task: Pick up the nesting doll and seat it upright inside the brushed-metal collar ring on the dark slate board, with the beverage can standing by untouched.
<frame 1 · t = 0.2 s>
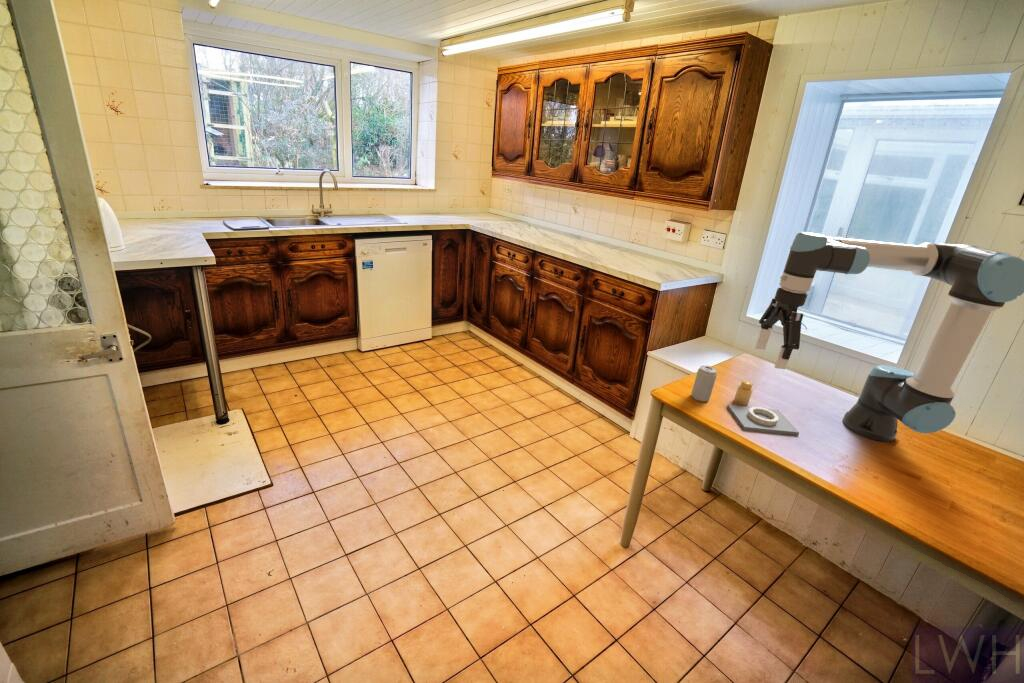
hand: (769, 358, 141), 28 cm above the table, fingers open, 13 cm apart
collar board: (761, 420, 162), on the table
beverage can: (699, 398, 172), on the table
nesting doll: (740, 402, 173), on the table
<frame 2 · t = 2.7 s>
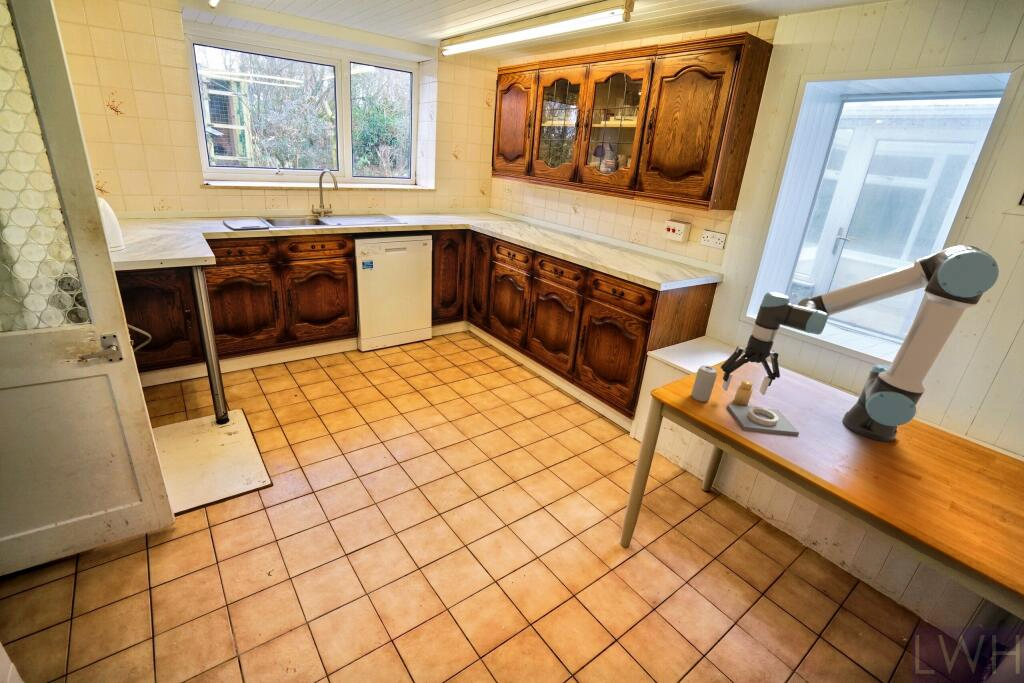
hand: (743, 391, 171), 5 cm above the table, fingers open, 13 cm apart
nothing on the table moved.
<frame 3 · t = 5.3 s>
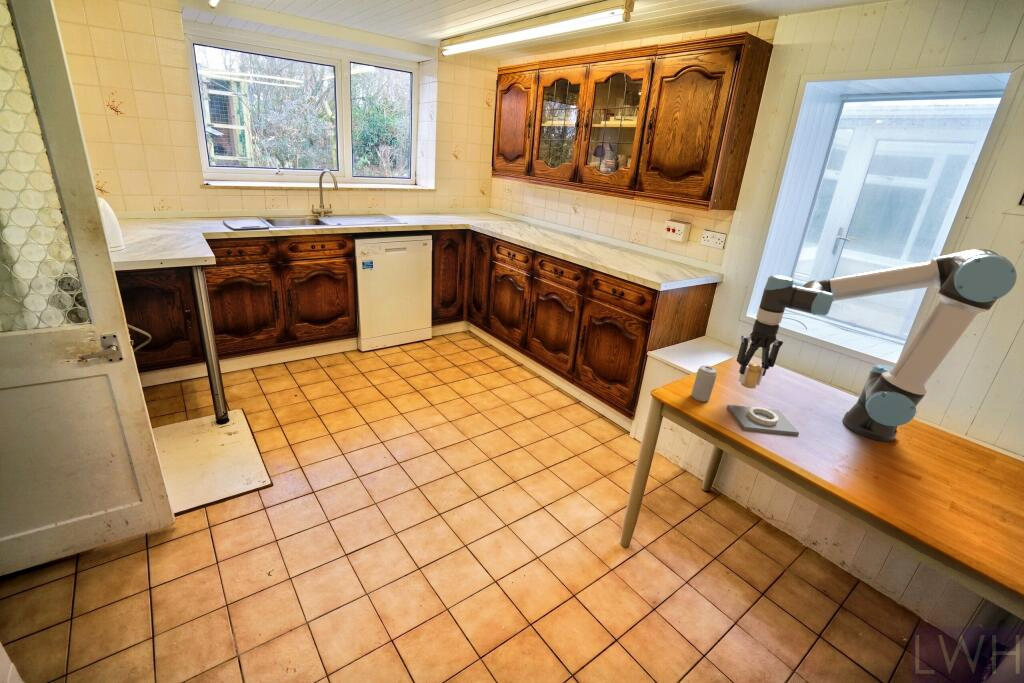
hand: (749, 382, 169), 8 cm above the table, fingers closed on nesting doll, 5 cm apart
nesting doll: (748, 385, 169), point 7 cm above the table, touching gripper
everything else where it was.
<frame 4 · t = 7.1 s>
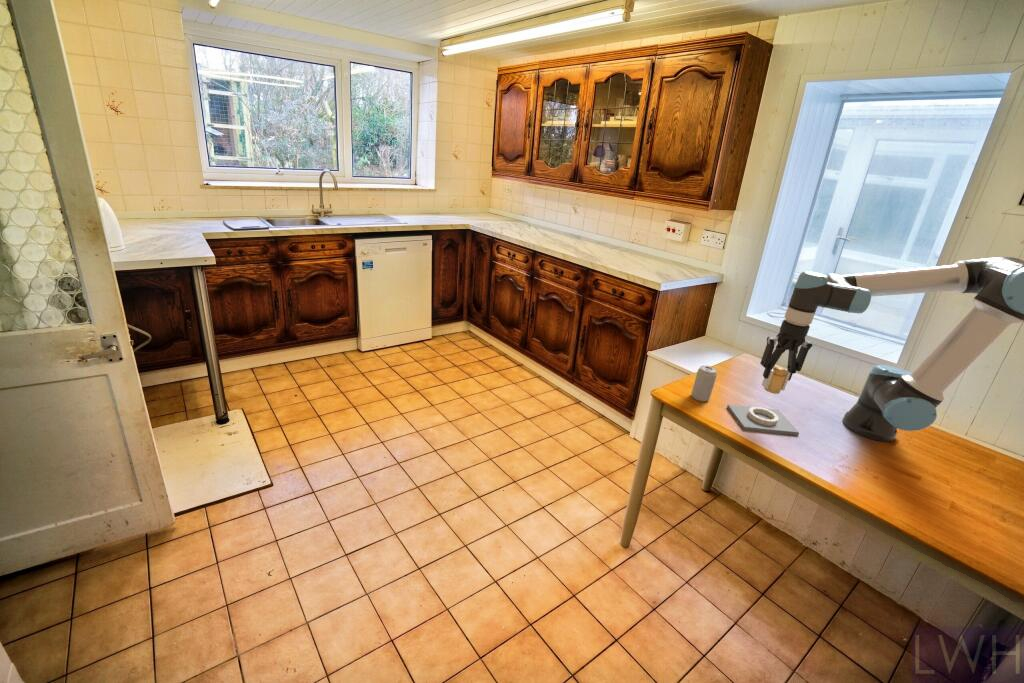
hand: (772, 387, 156), 13 cm above the table, fingers closed on nesting doll, 5 cm apart
nesting doll: (771, 390, 157), point 12 cm above the table, touching gripper
everything else where it was.
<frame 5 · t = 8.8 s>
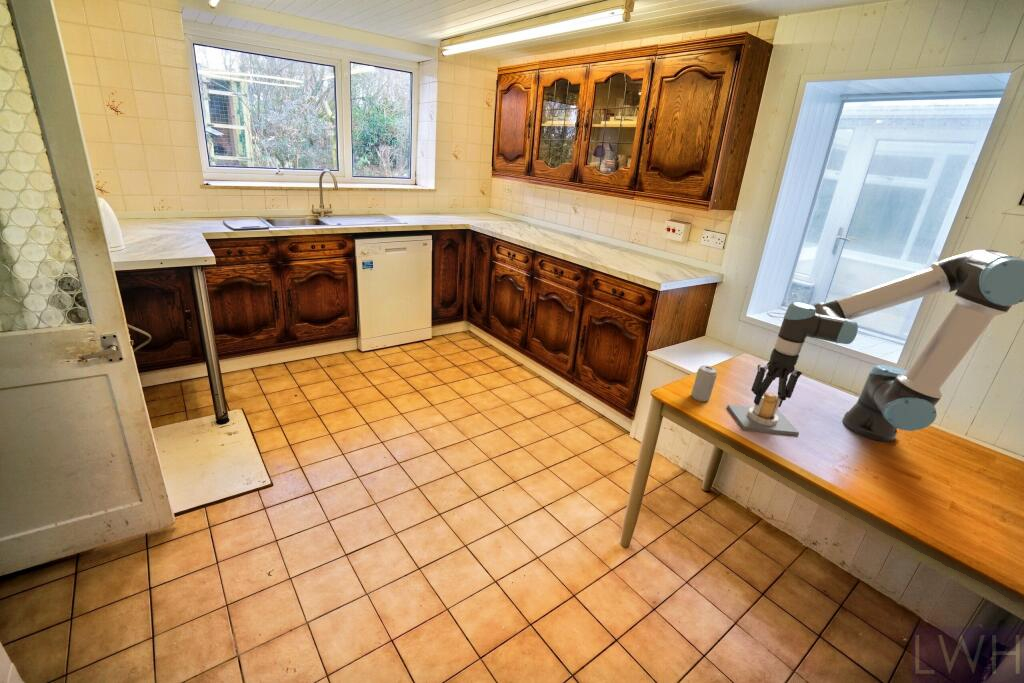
hand: (763, 413, 160), 3 cm above the table, fingers closed on nesting doll, 5 cm apart
nesting doll: (762, 415, 161), point 2 cm above the table, touching gripper
everything else where it was.
when the fingers open (3 cm above the table, at t = 9.4 s): nesting doll stays where it is, resting on collar board.
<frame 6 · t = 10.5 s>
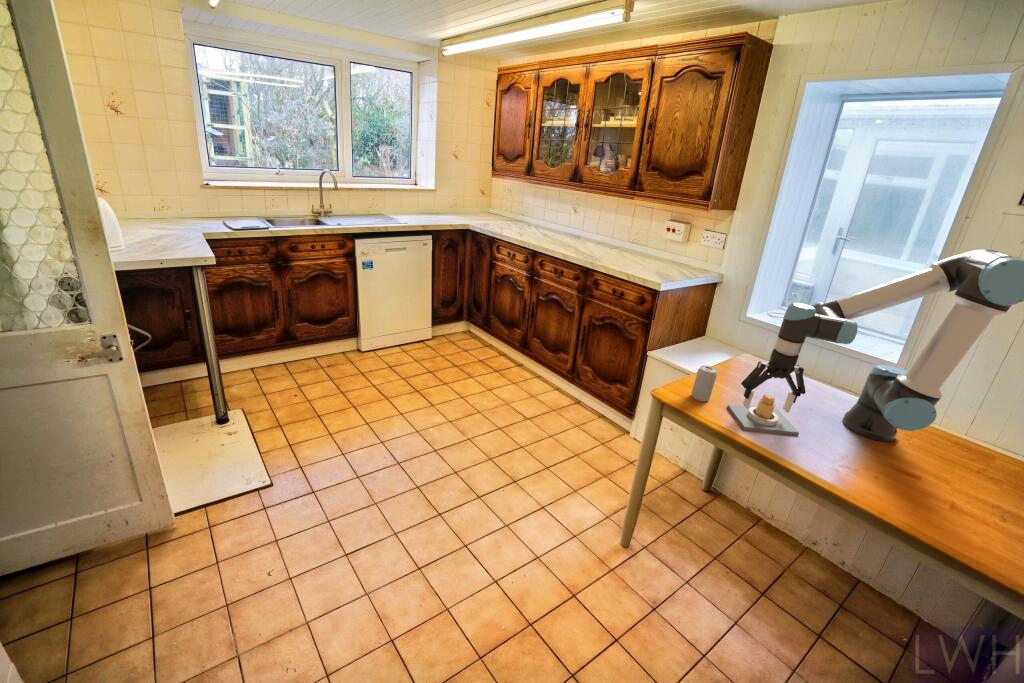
hand: (765, 408, 160), 5 cm above the table, fingers open, 13 cm apart
nesting doll: (761, 417, 161), point 1 cm above the table, touching collar board
everything else where it was.
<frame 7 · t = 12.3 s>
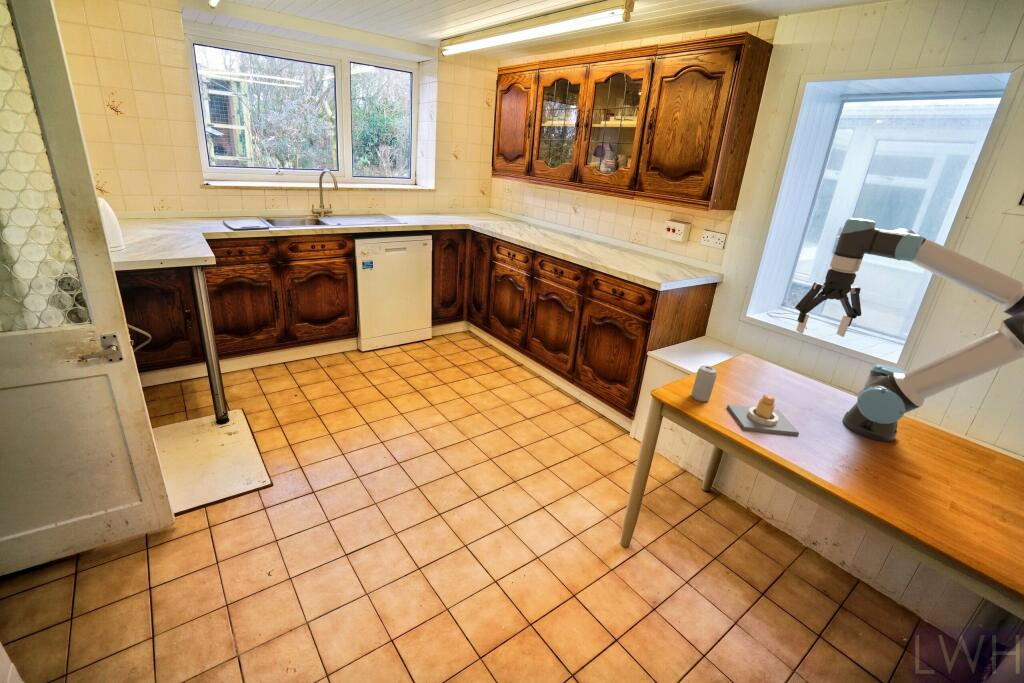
hand: (819, 333, 155), 31 cm above the table, fingers open, 13 cm apart
nothing on the table moved.
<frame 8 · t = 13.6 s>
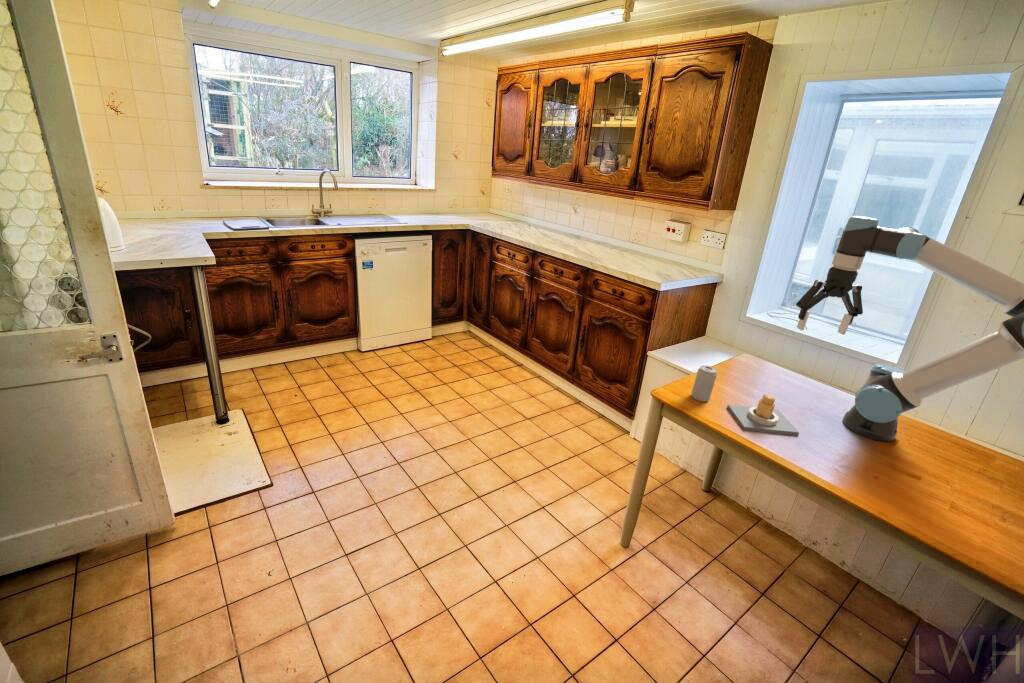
hand: (820, 331, 156), 32 cm above the table, fingers open, 13 cm apart
nothing on the table moved.
at the end: nesting doll 0.2 cm from the collar board (horizontally); nesting doll tilted 0°; the gripper is holding nothing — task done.
